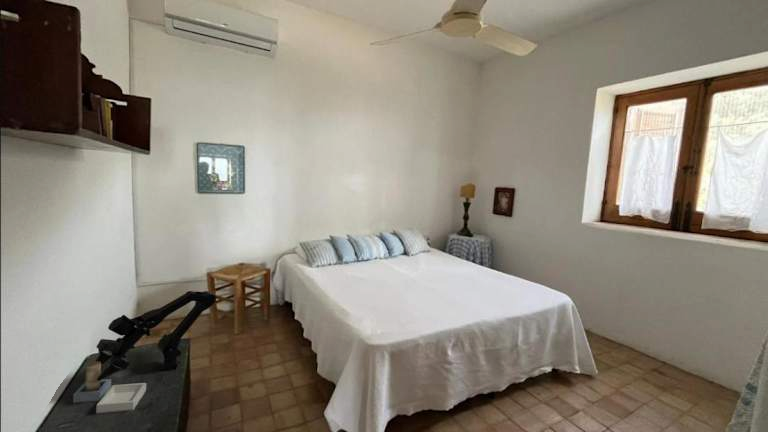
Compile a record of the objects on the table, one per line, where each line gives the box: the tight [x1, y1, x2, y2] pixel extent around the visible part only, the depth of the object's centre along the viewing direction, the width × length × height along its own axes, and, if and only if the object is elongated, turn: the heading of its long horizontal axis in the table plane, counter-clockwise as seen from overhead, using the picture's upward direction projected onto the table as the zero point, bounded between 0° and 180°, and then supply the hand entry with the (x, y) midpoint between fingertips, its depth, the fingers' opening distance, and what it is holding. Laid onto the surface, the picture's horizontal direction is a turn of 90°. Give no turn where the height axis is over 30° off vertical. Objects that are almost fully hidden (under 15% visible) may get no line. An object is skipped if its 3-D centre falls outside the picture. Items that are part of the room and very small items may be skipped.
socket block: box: [72, 378, 112, 404], centre depth 126 cm, size 8×8×4 cm
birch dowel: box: [85, 360, 102, 391], centre depth 125 cm, size 4×4×13 cm
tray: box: [95, 382, 147, 415], centre depth 124 cm, size 12×12×4 cm
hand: (94, 375), depth 125 cm, fingers open, 9 cm apart
